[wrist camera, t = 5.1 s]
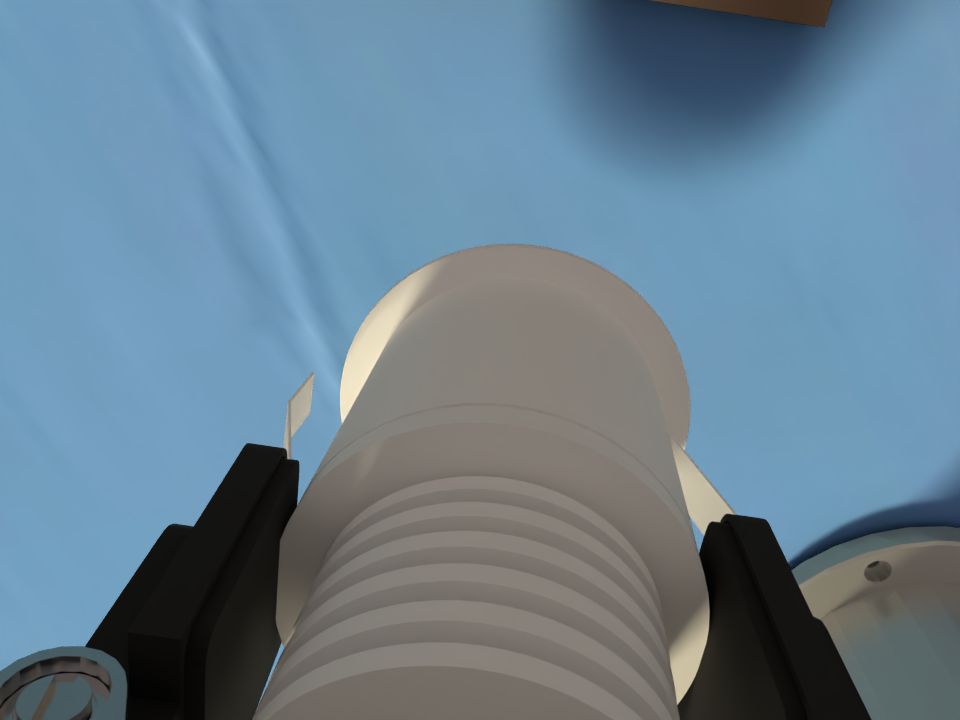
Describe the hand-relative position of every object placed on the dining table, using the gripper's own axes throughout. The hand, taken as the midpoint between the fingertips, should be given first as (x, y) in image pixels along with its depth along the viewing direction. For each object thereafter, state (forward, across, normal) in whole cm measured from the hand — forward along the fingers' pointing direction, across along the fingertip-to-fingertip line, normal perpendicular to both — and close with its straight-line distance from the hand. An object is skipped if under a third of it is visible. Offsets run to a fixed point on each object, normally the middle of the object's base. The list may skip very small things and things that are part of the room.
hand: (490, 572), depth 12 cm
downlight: (+6, 0, 0) cm, 6 cm away
